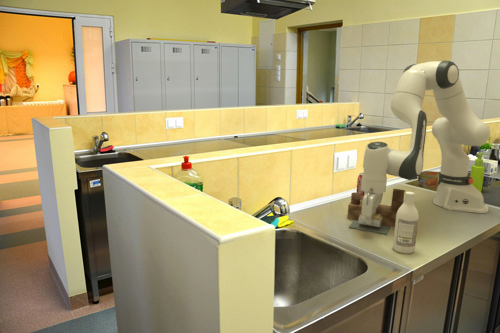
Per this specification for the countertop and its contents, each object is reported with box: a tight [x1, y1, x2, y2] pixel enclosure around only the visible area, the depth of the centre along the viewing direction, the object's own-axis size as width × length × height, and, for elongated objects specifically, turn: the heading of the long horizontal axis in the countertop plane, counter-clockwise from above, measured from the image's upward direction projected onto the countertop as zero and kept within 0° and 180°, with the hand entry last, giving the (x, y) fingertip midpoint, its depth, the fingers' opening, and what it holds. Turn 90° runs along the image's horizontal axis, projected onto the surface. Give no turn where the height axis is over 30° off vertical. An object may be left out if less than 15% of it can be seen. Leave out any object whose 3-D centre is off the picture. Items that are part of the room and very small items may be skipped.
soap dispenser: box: [469, 152, 490, 193], centre depth 203 cm, size 6×7×20 cm
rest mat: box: [348, 220, 392, 236], centre depth 155 cm, size 14×8×1 cm, turn 63°
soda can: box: [356, 172, 365, 201], centre depth 190 cm, size 7×7×12 cm
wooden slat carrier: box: [346, 188, 406, 228], centre depth 162 cm, size 20×7×14 cm, turn 63°
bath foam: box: [392, 191, 420, 254], centre depth 135 cm, size 7×7×20 cm
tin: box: [417, 170, 440, 189], centre depth 213 cm, size 15×3×8 cm, turn 73°
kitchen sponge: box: [358, 213, 383, 227], centre depth 155 cm, size 8×5×4 cm, turn 63°
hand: (370, 220), depth 155 cm, fingers closed on kitchen sponge, 5 cm apart
